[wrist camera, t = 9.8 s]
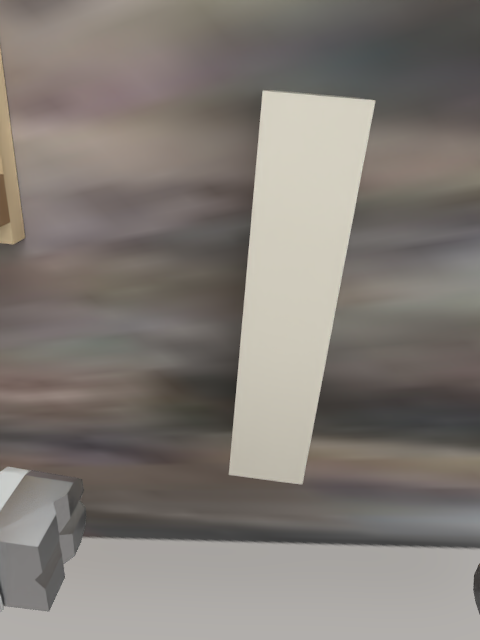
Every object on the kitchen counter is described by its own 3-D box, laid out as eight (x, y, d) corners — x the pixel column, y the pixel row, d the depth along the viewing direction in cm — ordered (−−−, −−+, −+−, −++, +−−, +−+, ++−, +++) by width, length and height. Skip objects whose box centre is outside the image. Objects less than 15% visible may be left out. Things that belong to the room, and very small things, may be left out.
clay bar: (270, 90, 18) (262, 90, 13) (354, 97, 17) (375, 100, 13) (240, 404, 24) (228, 474, 20) (300, 411, 24) (302, 484, 20)
